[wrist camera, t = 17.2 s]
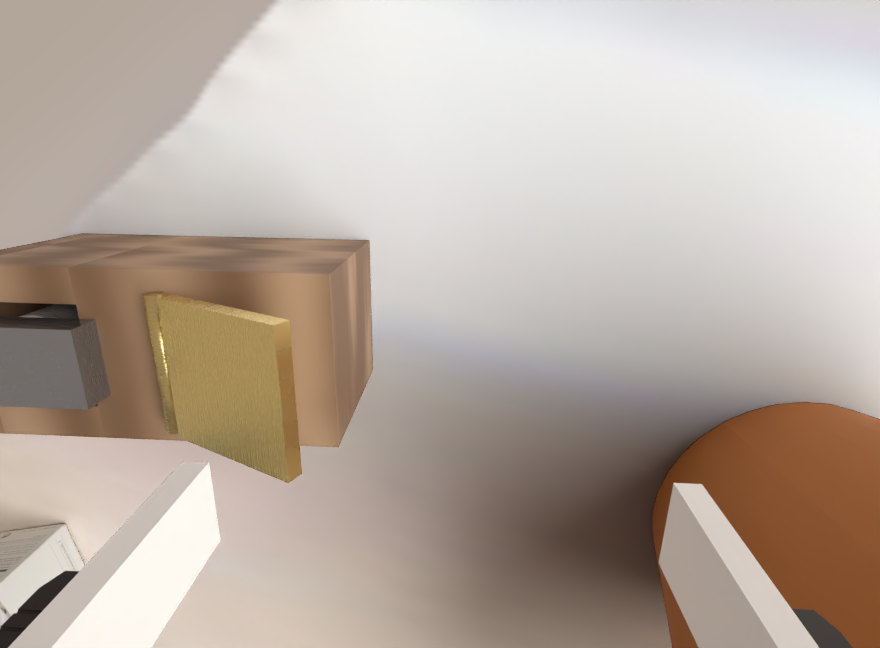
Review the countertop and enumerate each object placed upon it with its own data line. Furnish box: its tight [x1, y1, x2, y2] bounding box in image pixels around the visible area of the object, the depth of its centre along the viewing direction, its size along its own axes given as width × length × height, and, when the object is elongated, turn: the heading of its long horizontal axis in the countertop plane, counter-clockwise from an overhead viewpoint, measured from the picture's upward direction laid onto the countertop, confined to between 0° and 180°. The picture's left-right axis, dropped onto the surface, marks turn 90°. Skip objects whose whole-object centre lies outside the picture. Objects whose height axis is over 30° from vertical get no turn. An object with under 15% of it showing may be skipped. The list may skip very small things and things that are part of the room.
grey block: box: [0, 304, 111, 410], centre depth 29 cm, size 7×4×11 cm, turn 89°
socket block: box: [0, 234, 373, 447], centre depth 30 cm, size 19×9×10 cm, turn 89°
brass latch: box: [143, 292, 302, 483], centre depth 23 cm, size 1×7×8 cm
